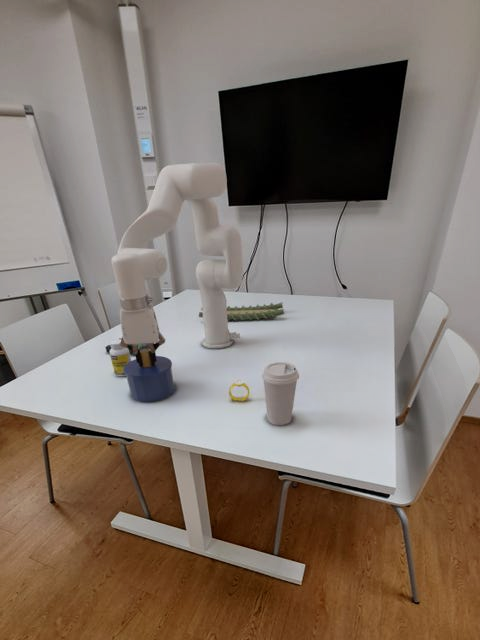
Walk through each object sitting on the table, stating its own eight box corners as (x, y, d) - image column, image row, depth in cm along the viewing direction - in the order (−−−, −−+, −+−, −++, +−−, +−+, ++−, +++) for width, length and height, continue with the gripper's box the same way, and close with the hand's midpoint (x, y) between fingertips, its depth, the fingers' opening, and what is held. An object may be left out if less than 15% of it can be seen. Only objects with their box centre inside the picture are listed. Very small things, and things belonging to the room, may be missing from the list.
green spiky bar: (282, 311, 178) (282, 301, 176) (284, 320, 166) (284, 309, 164) (202, 314, 181) (201, 304, 178) (198, 323, 169) (197, 313, 166)
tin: (175, 380, 120) (171, 356, 115) (172, 400, 109) (168, 375, 104) (135, 383, 119) (129, 359, 115) (128, 403, 108) (121, 378, 103)
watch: (229, 402, 106) (227, 384, 103) (230, 397, 109) (228, 380, 105) (249, 402, 106) (248, 384, 102) (249, 397, 108) (249, 380, 105)
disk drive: (106, 353, 143) (138, 356, 139) (104, 347, 141) (137, 349, 137) (120, 344, 151) (151, 346, 147) (119, 337, 149) (150, 339, 145)
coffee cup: (287, 432, 92) (289, 380, 84) (255, 422, 97) (254, 372, 88) (302, 414, 99) (305, 364, 90) (272, 406, 103) (272, 358, 95)
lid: (173, 357, 116) (171, 340, 113) (170, 377, 104) (167, 358, 101) (128, 361, 115) (124, 343, 112) (120, 381, 103) (115, 362, 100)
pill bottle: (111, 375, 125) (102, 344, 119) (122, 368, 130) (115, 337, 124) (126, 377, 123) (118, 346, 117) (137, 370, 128) (130, 339, 122)
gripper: (165, 297, 102) (175, 357, 112) (107, 301, 101) (122, 361, 112) (163, 304, 96) (173, 367, 106) (101, 309, 95) (118, 371, 105)
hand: (147, 363), depth 109 cm, fingers closed on lid, 3 cm apart
